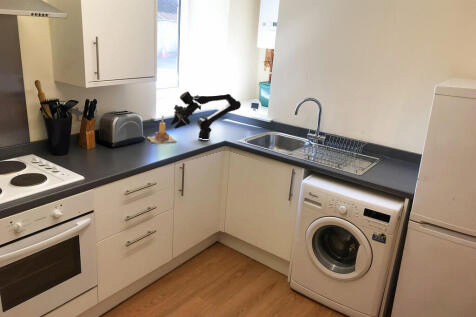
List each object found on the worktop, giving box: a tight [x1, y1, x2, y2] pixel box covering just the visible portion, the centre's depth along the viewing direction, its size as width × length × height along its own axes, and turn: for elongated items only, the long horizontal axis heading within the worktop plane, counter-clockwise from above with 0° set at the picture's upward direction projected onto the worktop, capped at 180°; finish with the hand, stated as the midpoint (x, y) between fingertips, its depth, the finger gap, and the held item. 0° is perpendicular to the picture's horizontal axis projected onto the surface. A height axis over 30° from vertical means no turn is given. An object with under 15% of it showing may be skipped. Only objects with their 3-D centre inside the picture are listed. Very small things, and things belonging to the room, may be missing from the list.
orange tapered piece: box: [158, 115, 166, 135], centre depth 256 cm, size 4×4×15 cm
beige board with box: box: [147, 131, 177, 144], centre depth 258 cm, size 16×12×4 cm
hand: (172, 126), depth 259 cm, fingers open, 9 cm apart
